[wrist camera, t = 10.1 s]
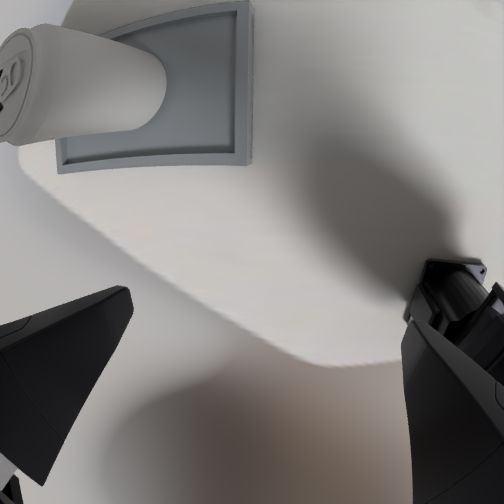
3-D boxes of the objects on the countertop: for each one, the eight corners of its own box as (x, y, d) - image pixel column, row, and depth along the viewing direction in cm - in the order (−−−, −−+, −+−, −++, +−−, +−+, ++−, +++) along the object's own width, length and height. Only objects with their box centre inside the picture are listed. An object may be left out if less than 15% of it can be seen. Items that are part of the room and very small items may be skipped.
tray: (253, 9, 14) (249, 0, 13) (252, 163, 19) (246, 165, 18) (69, 55, 18) (58, 54, 16) (69, 171, 22) (57, 174, 21)
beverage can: (100, 72, 17) (-21, 66, 7) (165, 40, 16) (42, -6, 5) (111, 140, 20) (-17, 168, 9) (179, 116, 18) (42, 117, 7)
